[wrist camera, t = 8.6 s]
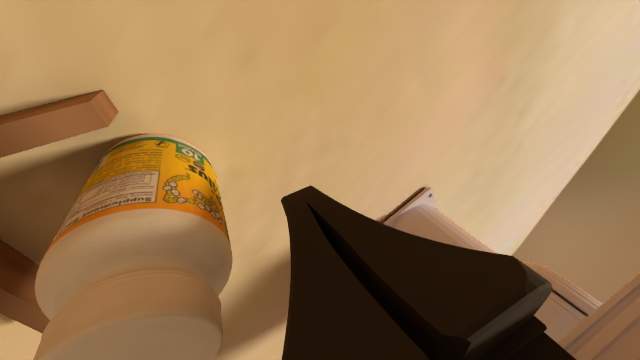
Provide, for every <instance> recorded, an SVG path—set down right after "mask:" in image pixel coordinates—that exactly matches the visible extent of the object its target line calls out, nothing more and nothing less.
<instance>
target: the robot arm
mask: <svg viewBox="0 0 640 360" xmlns="http://www.w3.org/2000/svg"><path fill="white" fill-rule="evenodd" d="M281 202H282V205H283V208H284V211H285V214H286V216H287V221H288V228H289V235H290V251H291V282H290V298H289V310H288V319H287V327H286V334H285V341H284V349H283V355H282V360H640V272H639V273H638V274H637V275H636V276H635V277H633V279H631V280H630V281H629V282H627V283H626V284H625V285H624V286H623V287H622V288H621V289H619V290H618V291H617V292H616V293H615V294H614V295H613V296H611V297H610V298H609V299H608V300H607V301H605V302H604V303H603V304H602V303H600V302H599V301H598V300H596V299H595V298H593V297H592V296H590V295H589V294H587V293H586V292H585V291H583V290H581V289H580V288H579V287H577V286H576V285H574V284H572V283H571V282H570V281H568V280H567V279H565V278H563V277H562V276H560V275H559V274H557V273H556V272H554V271H552V270H551V269H549V268H548V267H546V266H544V265H542V264H540V263H538V262H530V263H529V262H527V261H525V262H523V263H522V262H521V261H519V260H518V259H516V258H515V257H513V256H508V255H503V254H497V253H496V252H494V251H493V250H492V249H490V248H489V247H487V246H486V245H485V244H483V243H482V242H481V241H479V240H478V239H477V238H475V237H474V236H473V235H471V234H470V233H469V232H467V231H466V230H464V229H463V228H462V227H460V226H459V225H458V224H456V223H455V222H454V221H452V220H451V219H450V218H448V217H447V216H445V215H444V214H443V213H441V212H440V211H439V210H438V206H437V203H436V199H435V195H434V191H433V189H432V188H431V187H427V188H426V189H424V190H423V191H422V192H421V193H419V194H418V195H417V196H416V197H415V198H413V199H412V200H411V201H410V202H408V203H407V204H406V205H405V206H404V207H402V208H401V209H400V210H399V211H397V212H396V213H395V214H394V215H393V216H391V217H390V218H389V219H388V220H386V221H385V222H384V223H383V224H382V223H380V222H377V221H375V220H373V219H371V218H368V217H366V216H364V215H362V214H360V213H358V212H356V211H354V210H352V209H350V208H348V207H346V206H345V205H343V204H341V203H339V202H337V201H335V200H334V199H332V198H330V197H329V196H327V195H325V194H324V193H322V192H321V191H319V190H318V189H316V188H315V187H313V186H308V187H306V188H304V189H301V190H299V191H296V192H294V193H292V194H289V195H287V196H285V197H283V198H282V200H281Z"/></svg>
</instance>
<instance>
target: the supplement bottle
mask: <svg viewBox="0 0 640 360" xmlns="http://www.w3.org/2000/svg"><path fill="white" fill-rule="evenodd" d="M231 268H232V251H231V245H230V240H229V235H228V230H227V225H226V220H225V216H224V212H223V207H222V202H221V197H220V192H219V188H218V183H217V177H216V174H215V170H214V168H213V165H212V163H211V162H210V160H209V158H208V157H207V156H206V155H205V154H204V153H203V152H202V151H201V150H200V149H198V148H197V147H195V146H193V145H191V144H190V143H188V142H186V141H184V140H182V139H179V138H177V137H174V136H169V135H164V134H144V135H138V136H134V137H130V138H127V139H125V140H122V141H121V142H119V143H117V144H116V145H114V146H113V147H111V148H110V149H109V150H108V151H107V152H106V153H105V154H104V155H103V156H102V157H101V159H100V161H99V162H98V164H97V165H96V167H95V168H94V170H93V172H92V174H91V175H90V177H89V179H88V181H87V182H86V184H85V186H84V187H83V189H82V191H81V193H80V194H79V196H78V198H77V200H76V201H75V203H74V205H73V207H72V208H71V210H70V211H69V213H68V215H67V217H66V219H65V221H64V223H63V224H62V226H61V228H60V229H59V231H58V233H57V234H56V236H55V237H54V239H53V241H52V243H51V245H50V247H49V248H48V250H47V252H46V254H45V255H44V258H43V260H42V262H41V264H40V266H39V269H38V272H37V275H36V280H35V295H36V299H37V302H38V304H39V307H40V308H41V310H42V311H43V313H44V314H45V315H46V316H47V318H48V319H50V321H49V323H48V325H47V326H46V328H45V330H44V332H43V334H42V338H41V342H40V345H39V347H38V350H37V352H36V355H35V357H34V359H33V360H213V359H214V357H215V356H216V354H217V353H218V351H219V349H220V347H221V344H222V338H223V329H222V319H221V302H220V299H219V297H218V296H219V294H220V293H221V292H222V290H223V288H224V287H225V285H226V283H227V281H228V279H229V276H230V272H231Z"/></svg>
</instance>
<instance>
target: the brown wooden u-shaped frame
mask: <svg viewBox="0 0 640 360" xmlns="http://www.w3.org/2000/svg"><path fill="white" fill-rule="evenodd" d="M117 113H118V111H117V109H116V108H115V106H114V105H113V103H112V102H111V101H110V99H109V98H108V96H107V95H106V93H105V92H104V91H103V90H101V91H97V92H93V93H89V94H85V95H81V96H77V97H73V98H69V99H66V100H62V101H58V102H54V103H50V104H46V105H42V106H38V107H34V108H30V109H27V110H23V111H19V112H15V113H11V114H7V115H3V116H0V158H1V157H5V156H8V155H11V154H15V153H18V152H22V151H25V150H29V149H32V148H35V147H39V146H42V145H46V144H49V143H53V142H56V141H59V140H63V139H66V138H70V137H73V136H76V135H80V134H83V133H87V132H90V131H94V130H97V129H100V128H104V127H107V126H109V125H110V123H111V122H112V120H113V119H114V117H115V116H116V115H117ZM38 269H39V266H38V265H36V264H35V263H33V262H32V261H30V260H29V259H27V258H26V257H24V256H23V255H21V254H20V253H18V252H17V251H15V250H14V249H12V248H11V247H9V246H8V245H6V244H5V243H3V242H2V241H0V313H1V314H3V315H5V316H7V317H9V318H11V319H14V320H16V321H18V322H20V323H22V324H24V325H26V326H28V327H30V328H32V329H34V330H36V331H39V332H41V333H43V332H44V330H45V328H46V326H47V325H48V323H49V321H50V319H48V318H47V316H46V315H45V314H44V313H43V311H42V310H41V308H40V307H39V304H38V302H37V299H36V295H35V280H36V275H37V272H38Z"/></svg>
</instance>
